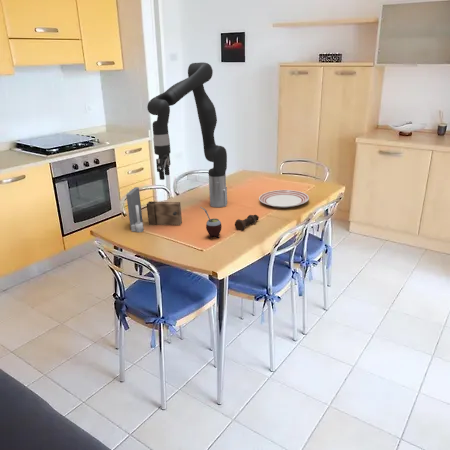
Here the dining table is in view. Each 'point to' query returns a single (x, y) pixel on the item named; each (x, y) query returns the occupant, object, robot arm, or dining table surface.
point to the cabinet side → (135, 210)
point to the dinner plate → (284, 198)
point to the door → (164, 213)
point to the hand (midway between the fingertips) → (164, 177)
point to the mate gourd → (213, 227)
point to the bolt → (245, 222)
